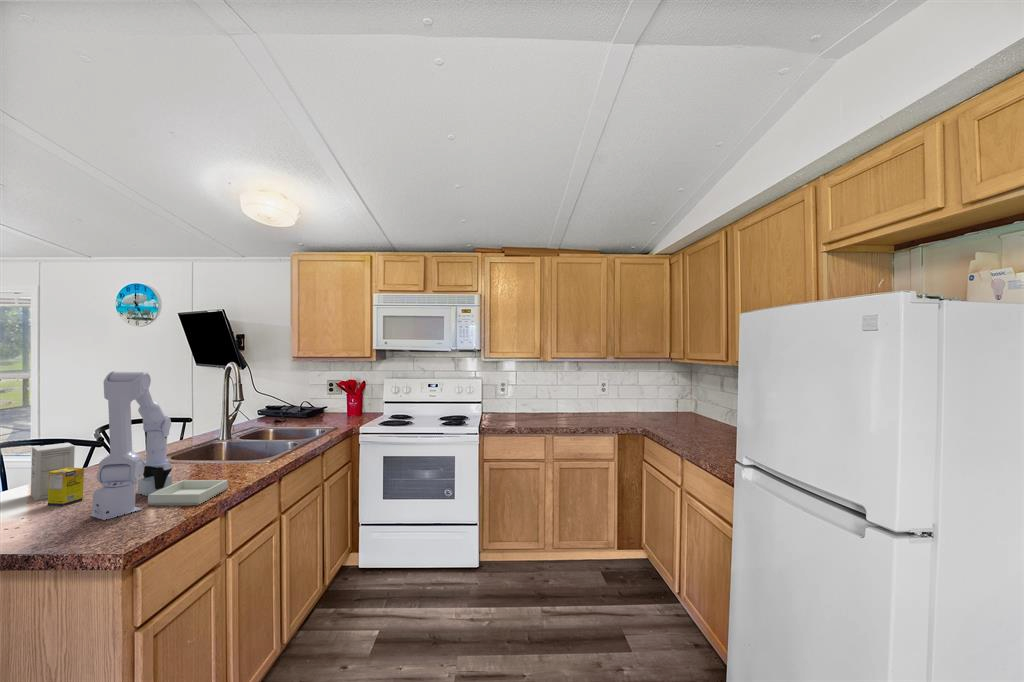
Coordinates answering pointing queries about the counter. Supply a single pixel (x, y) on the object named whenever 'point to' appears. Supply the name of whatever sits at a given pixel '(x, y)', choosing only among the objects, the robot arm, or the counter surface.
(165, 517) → the counter surface
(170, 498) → the pale green tray
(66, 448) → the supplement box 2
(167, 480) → the small crate
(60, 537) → the counter surface
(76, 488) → the supplement box
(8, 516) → the counter surface
